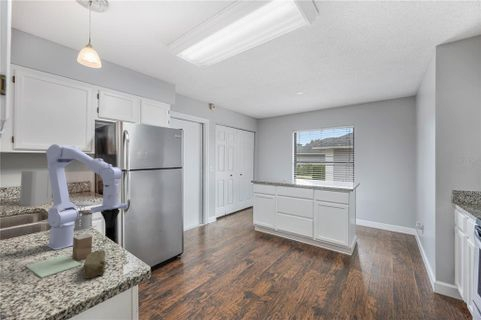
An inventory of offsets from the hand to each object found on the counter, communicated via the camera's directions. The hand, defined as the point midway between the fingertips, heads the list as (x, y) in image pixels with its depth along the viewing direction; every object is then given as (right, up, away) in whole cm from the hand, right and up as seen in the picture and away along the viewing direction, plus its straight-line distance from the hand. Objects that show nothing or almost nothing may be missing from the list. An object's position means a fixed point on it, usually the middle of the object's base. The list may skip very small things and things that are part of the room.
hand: (109, 227), depth 92 cm
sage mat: (-10, -9, -16) cm, 21 cm away
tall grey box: (-115, -9, +87) cm, 144 cm away
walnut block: (-5, -9, -9) cm, 14 cm away
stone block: (+6, -10, -18) cm, 22 cm away
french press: (-31, -9, +27) cm, 42 cm away
